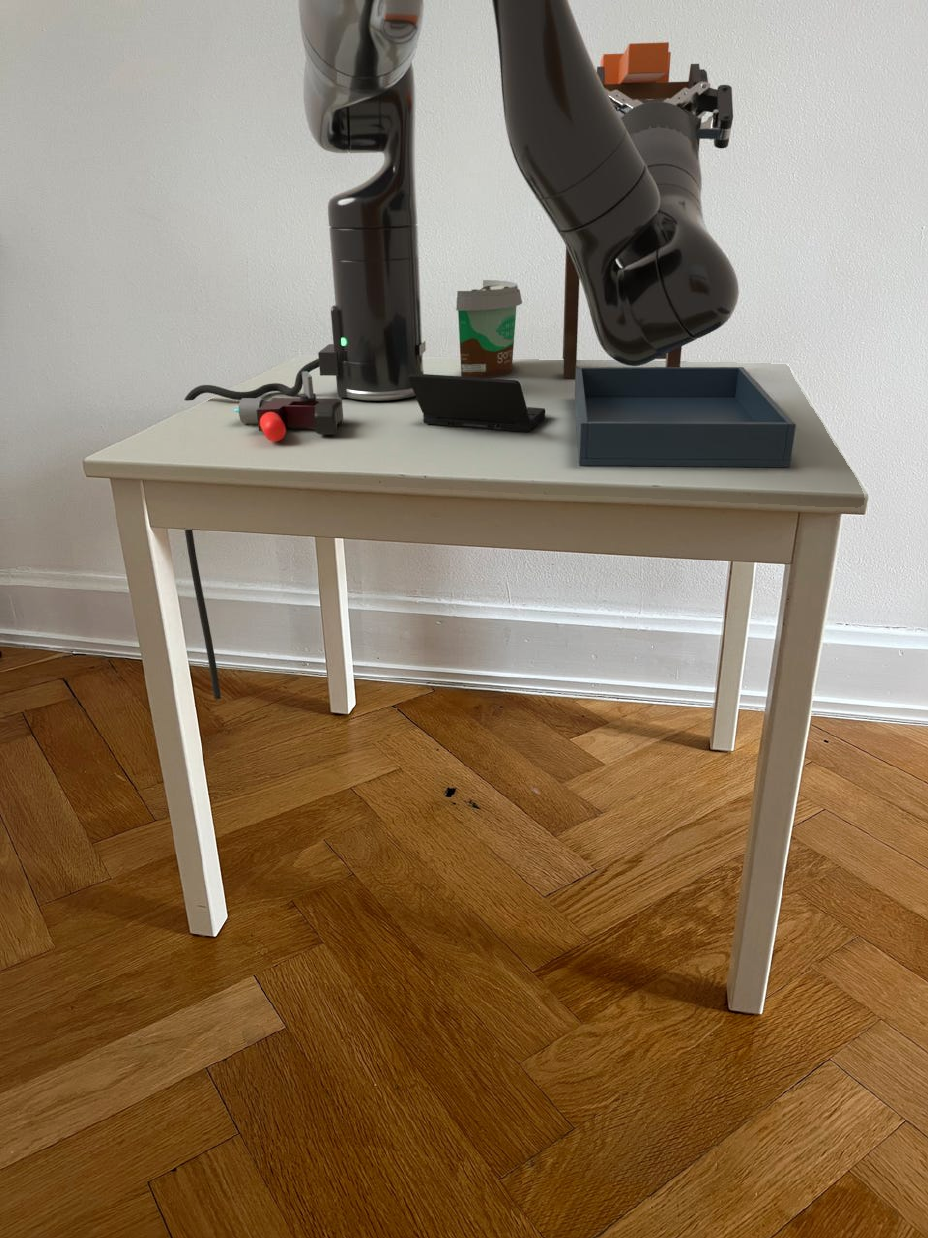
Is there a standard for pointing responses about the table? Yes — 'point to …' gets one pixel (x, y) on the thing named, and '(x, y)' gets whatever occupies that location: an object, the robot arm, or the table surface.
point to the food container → (487, 328)
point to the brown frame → (571, 275)
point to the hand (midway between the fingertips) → (646, 75)
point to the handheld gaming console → (474, 402)
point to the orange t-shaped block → (638, 64)
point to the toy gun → (292, 412)
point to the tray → (678, 418)
